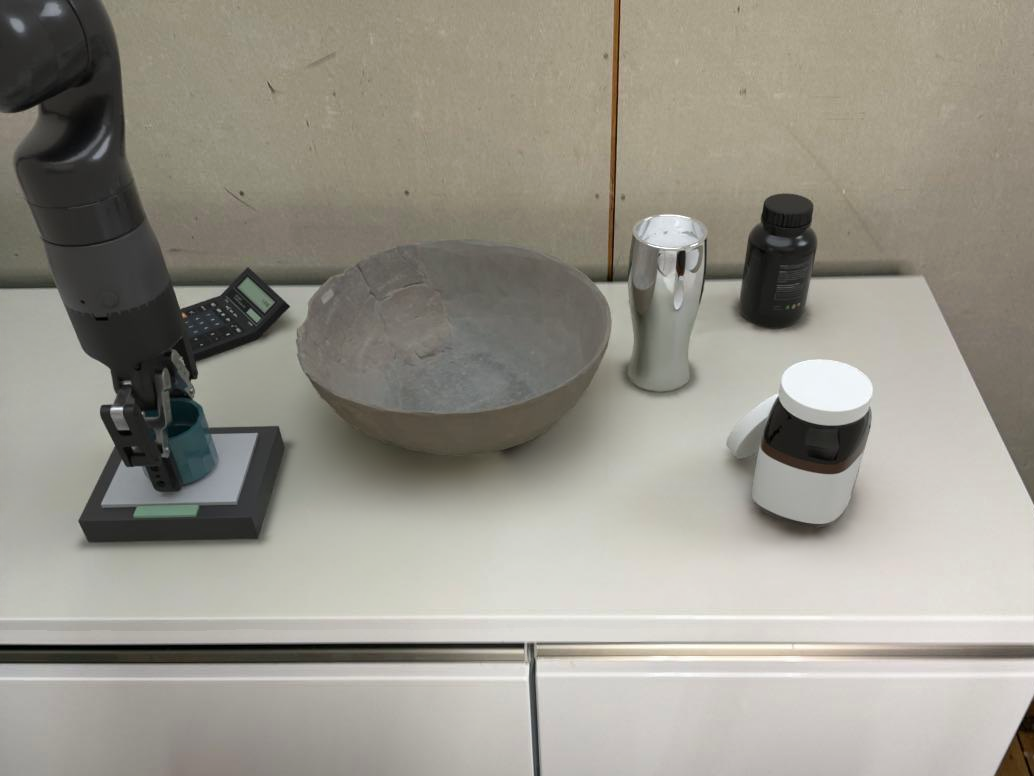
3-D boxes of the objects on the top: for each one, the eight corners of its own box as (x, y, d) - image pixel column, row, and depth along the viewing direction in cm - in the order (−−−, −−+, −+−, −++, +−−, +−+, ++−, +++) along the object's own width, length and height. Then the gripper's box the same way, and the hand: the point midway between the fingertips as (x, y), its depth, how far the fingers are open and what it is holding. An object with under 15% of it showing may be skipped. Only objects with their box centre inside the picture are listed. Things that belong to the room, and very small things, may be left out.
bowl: (372, 314, 103) (358, 227, 96) (627, 338, 99) (631, 248, 92) (270, 478, 84) (243, 384, 77) (580, 517, 79) (582, 421, 72)
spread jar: (827, 551, 76) (858, 435, 68) (695, 506, 80) (709, 391, 72) (869, 465, 83) (901, 351, 75) (746, 428, 88) (764, 316, 79)
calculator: (157, 324, 103) (148, 299, 100) (257, 290, 107) (251, 265, 105) (190, 363, 97) (182, 338, 95) (294, 325, 102) (288, 300, 100)
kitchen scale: (88, 542, 79) (75, 517, 77) (131, 450, 87) (121, 425, 85) (258, 538, 78) (250, 513, 77) (284, 446, 87) (278, 422, 85)
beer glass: (643, 402, 91) (653, 256, 80) (610, 364, 95) (616, 221, 85) (707, 384, 93) (725, 239, 82) (672, 348, 97) (685, 206, 87)
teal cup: (137, 491, 79) (117, 443, 75) (157, 445, 83) (139, 398, 80) (209, 489, 79) (193, 441, 75) (226, 443, 83) (211, 396, 80)
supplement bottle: (810, 302, 103) (831, 194, 95) (795, 334, 99) (816, 224, 90) (747, 290, 105) (763, 183, 97) (730, 321, 101) (745, 212, 92)
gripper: (94, 236, 74) (159, 411, 86) (25, 338, 64) (109, 521, 75) (191, 234, 74) (243, 409, 86) (137, 335, 64) (204, 519, 75)
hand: (180, 461), depth 80 cm, fingers open, 6 cm apart
